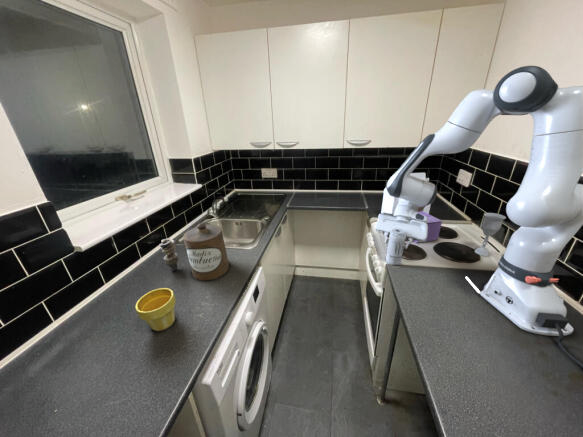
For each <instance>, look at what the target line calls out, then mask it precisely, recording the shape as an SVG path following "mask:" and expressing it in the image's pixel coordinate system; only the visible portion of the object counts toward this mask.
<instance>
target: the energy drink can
mask: <svg viewBox="0 0 583 437" xmlns="http://www.w3.org/2000/svg"><path fill="white" fill-rule="evenodd" d="M388 239H389V242H388V244H387V249H386V254H385V255H386V256H385V261H386V263H388V265H391V266H398V265H400V264H401V263H402V258H403V253H404V249H405V248H403V246H404V243H405V242H406V235H405V231H404V230H402V229H392V231H391V232H390V235H388Z"/></svg>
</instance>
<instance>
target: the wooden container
mask: <svg viewBox="0 0 583 437" xmlns="http://www.w3.org/2000/svg"><path fill="white" fill-rule="evenodd" d="M182 237H183V242H184V245H185V249H186V253H187V257H188V261H189V266H190V269H191V272H192V276H193V277H194V278H195V279H197V280H199V281H210V280H214V279H217V278H220V277H222V276H223V275H224V274H226V273H227V271H228V270H229V267H230V265H229V259H228V253H227V248H226V244H225V239H224V234H223V230H222V227H221V226H219V225H216V224H206V223H204V222H198V224H197V225H196V226H195V227H193V228H192V227H191V228H190V229H188V230H187V231H185V232H184V234H183V236H182Z"/></svg>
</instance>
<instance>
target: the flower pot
mask: <svg viewBox="0 0 583 437" xmlns="http://www.w3.org/2000/svg"><path fill="white" fill-rule="evenodd" d="M176 302H177V300H176V296H175V293H174V291H173V290H172V289H170V288H169V287H159V288H155V289H153V290H150V291H148V292H147V293H145V294H144V295H142V296H141V297H140V298H139V299H138V300H137V301H136V304H135V305H134V306H135V308H134V309H135V311H136V313H137V315H138V318H140V319H141V320H143V321H145V323H147V325H148V326H149V327H150V328H151V329H152V330H154V331H156V332H161V331H164V330H167V329H168V328H170V327H171V326H172V325H173V324H174V322H175V320H176V314H175V305H176Z"/></svg>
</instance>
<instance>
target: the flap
mask: <svg viewBox="0 0 583 437" xmlns="http://www.w3.org/2000/svg"><path fill="white" fill-rule="evenodd" d="M427 218H428V222H427V224H428V223H435V222H442V223H443V220H442V219H439V218H437V217H435V216H433V215H432V216H429V217H427Z"/></svg>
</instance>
